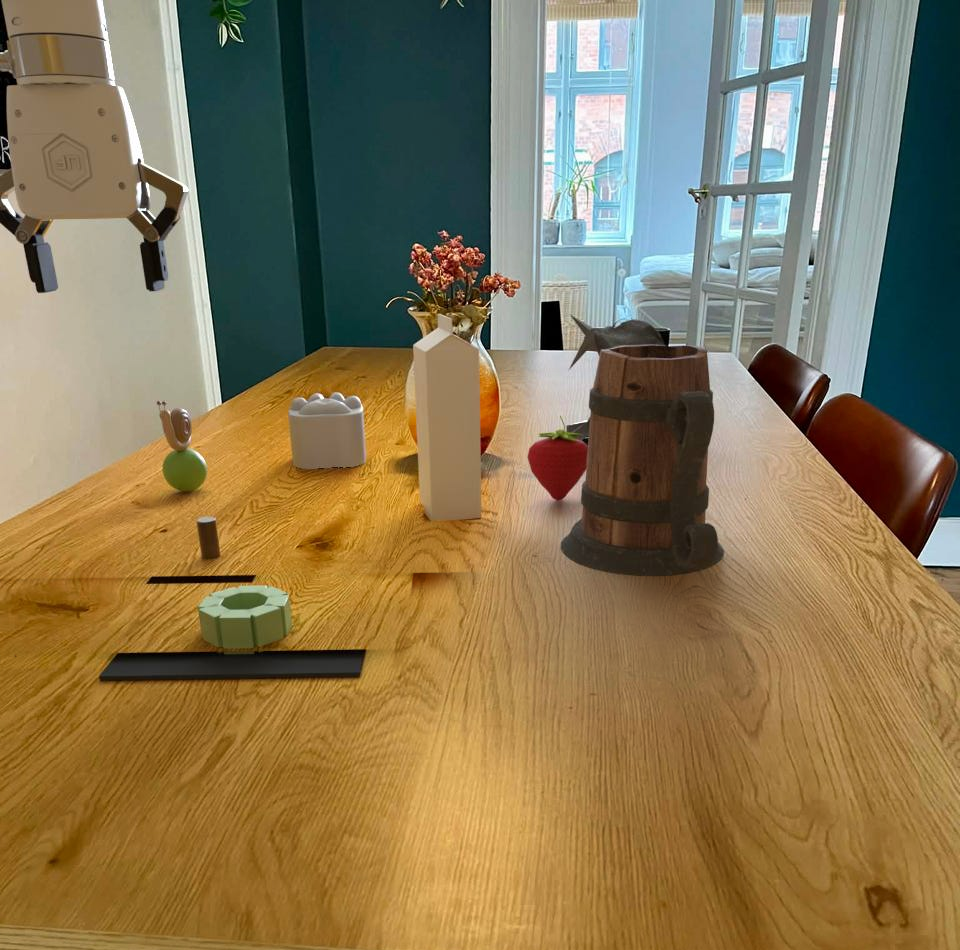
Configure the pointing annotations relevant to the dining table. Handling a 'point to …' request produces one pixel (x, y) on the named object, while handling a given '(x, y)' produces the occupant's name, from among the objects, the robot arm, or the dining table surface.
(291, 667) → the mat
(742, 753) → the dining table surface
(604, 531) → the tankard
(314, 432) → the lumpy-topped squat cylinder
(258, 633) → the ring
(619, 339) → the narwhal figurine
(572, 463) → the strawberry
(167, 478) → the snail figurine
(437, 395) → the milk
